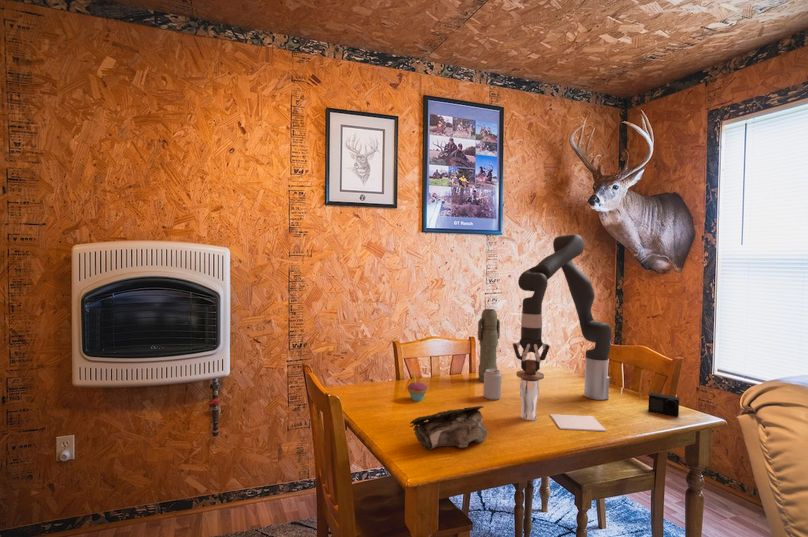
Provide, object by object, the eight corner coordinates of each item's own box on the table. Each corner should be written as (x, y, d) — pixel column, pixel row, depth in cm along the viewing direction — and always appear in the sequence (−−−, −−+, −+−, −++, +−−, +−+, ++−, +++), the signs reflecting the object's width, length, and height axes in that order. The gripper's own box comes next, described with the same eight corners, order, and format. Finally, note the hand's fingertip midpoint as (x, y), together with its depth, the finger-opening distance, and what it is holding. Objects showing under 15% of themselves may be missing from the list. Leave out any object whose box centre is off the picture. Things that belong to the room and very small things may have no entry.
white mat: (592, 417, 174) (592, 416, 174) (606, 431, 160) (606, 430, 160) (550, 415, 175) (550, 414, 175) (559, 429, 162) (559, 427, 162)
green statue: (502, 380, 223) (504, 310, 222) (484, 384, 217) (486, 311, 216) (490, 376, 231) (492, 308, 230) (472, 379, 224) (474, 309, 223)
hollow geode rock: (411, 467, 140) (427, 446, 130) (399, 428, 148) (413, 405, 138) (486, 450, 152) (506, 429, 142) (471, 415, 160) (489, 393, 150)
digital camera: (647, 412, 181) (648, 395, 181) (649, 409, 186) (649, 392, 186) (677, 418, 176) (678, 400, 175) (678, 414, 180) (679, 397, 180)
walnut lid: (540, 373, 176) (540, 358, 176) (546, 380, 166) (547, 364, 166) (514, 372, 177) (514, 357, 177) (519, 379, 167) (519, 363, 167)
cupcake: (404, 400, 189) (404, 372, 189) (411, 395, 197) (412, 367, 197) (423, 403, 186) (424, 374, 185) (430, 397, 194) (430, 370, 193)
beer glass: (538, 416, 174) (539, 377, 174) (537, 422, 168) (539, 382, 167) (519, 413, 177) (521, 375, 176) (518, 419, 170) (519, 380, 170)
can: (501, 401, 192) (502, 373, 191) (483, 399, 193) (483, 371, 193) (500, 395, 199) (501, 368, 198) (483, 394, 200) (484, 367, 200)
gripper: (548, 324, 174) (546, 368, 175) (510, 323, 175) (509, 367, 176) (553, 327, 167) (551, 374, 167) (514, 326, 168) (512, 372, 168)
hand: (530, 370), depth 172 cm, fingers closed on walnut lid, 4 cm apart
